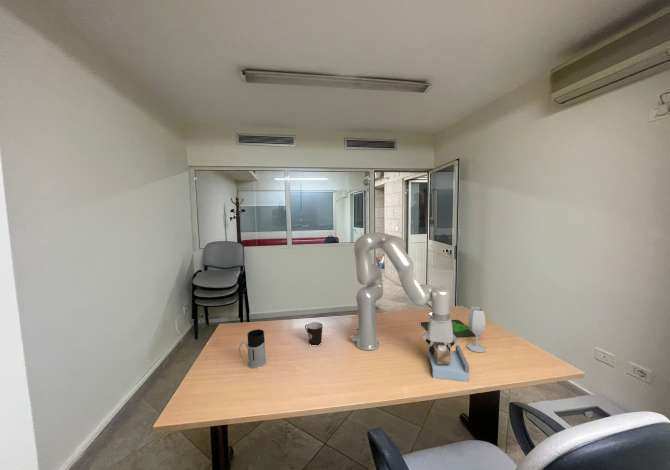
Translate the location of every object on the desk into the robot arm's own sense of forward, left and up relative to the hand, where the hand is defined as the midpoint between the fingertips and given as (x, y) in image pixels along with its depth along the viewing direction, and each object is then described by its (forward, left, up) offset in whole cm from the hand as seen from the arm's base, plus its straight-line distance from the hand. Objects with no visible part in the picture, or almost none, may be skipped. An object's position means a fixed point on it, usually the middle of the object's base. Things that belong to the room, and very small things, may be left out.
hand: (439, 353), depth 119 cm
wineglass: (+21, +20, -7) cm, 30 cm away
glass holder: (-85, -15, -7) cm, 86 cm away
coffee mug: (-63, +12, -7) cm, 64 cm away
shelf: (+3, 0, -6) cm, 7 cm away
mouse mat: (+11, +41, -7) cm, 43 cm away
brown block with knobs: (0, 0, -1) cm, 1 cm away
